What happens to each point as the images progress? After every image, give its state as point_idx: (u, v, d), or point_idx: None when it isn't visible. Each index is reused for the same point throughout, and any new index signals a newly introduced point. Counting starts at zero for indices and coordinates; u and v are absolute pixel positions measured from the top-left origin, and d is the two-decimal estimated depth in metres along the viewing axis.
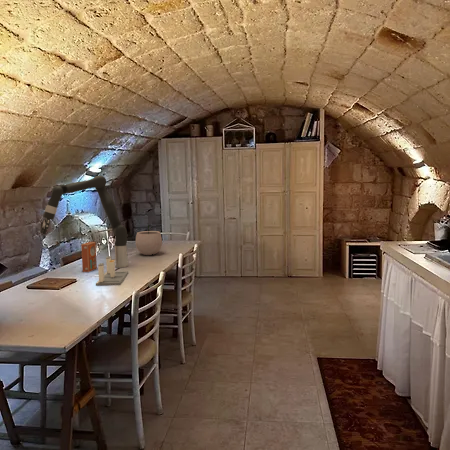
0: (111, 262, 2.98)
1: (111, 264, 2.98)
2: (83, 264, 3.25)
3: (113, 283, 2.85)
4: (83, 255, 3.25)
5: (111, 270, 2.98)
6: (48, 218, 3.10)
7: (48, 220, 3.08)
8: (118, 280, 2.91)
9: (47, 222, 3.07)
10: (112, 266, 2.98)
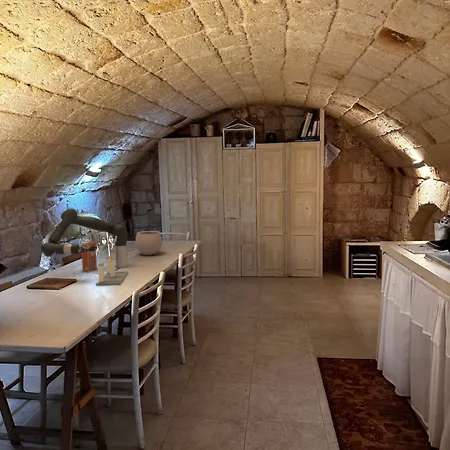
0: (111, 262, 2.98)
1: (111, 264, 2.98)
2: (83, 264, 3.25)
3: (113, 283, 2.85)
4: (83, 255, 3.25)
5: (111, 270, 2.98)
6: (76, 250, 2.94)
7: (78, 250, 2.91)
8: (118, 280, 2.91)
9: (80, 251, 2.91)
10: (112, 266, 2.98)
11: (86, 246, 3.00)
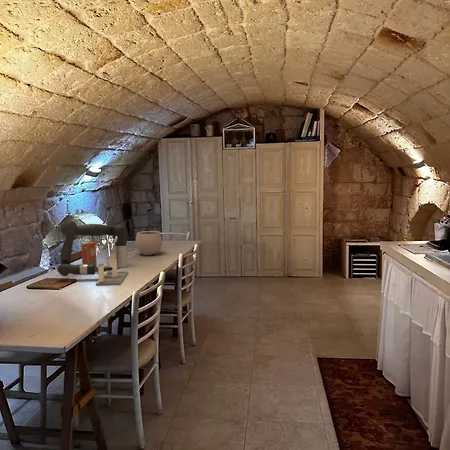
0: (113, 262, 2.98)
1: (113, 264, 2.98)
2: None
3: (113, 283, 2.85)
4: (83, 255, 3.25)
5: (113, 270, 2.99)
6: (93, 270, 2.96)
7: (97, 271, 2.94)
8: (118, 280, 2.91)
9: None
10: (114, 266, 2.98)
11: None
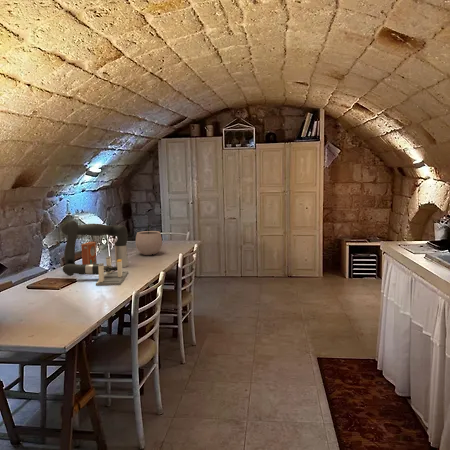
0: (118, 262, 2.98)
1: (118, 264, 2.98)
2: (83, 264, 3.25)
3: (113, 283, 2.85)
4: (83, 255, 3.25)
5: (118, 269, 2.99)
6: (98, 270, 2.97)
7: None
8: (118, 280, 2.91)
9: (105, 271, 2.95)
10: (119, 266, 2.99)
11: (107, 266, 3.01)
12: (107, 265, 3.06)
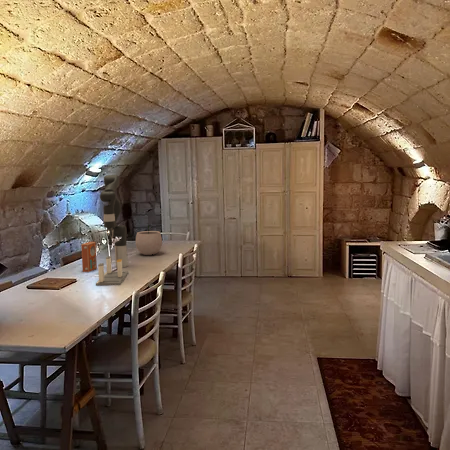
0: (118, 262, 2.98)
1: (118, 264, 2.98)
2: (83, 264, 3.25)
3: (113, 283, 2.85)
4: (83, 255, 3.25)
5: (118, 269, 2.99)
6: (108, 227, 2.94)
7: (107, 233, 2.92)
8: (118, 280, 2.91)
9: (107, 235, 2.93)
10: (119, 266, 2.99)
11: (112, 234, 2.99)
12: (113, 231, 3.04)
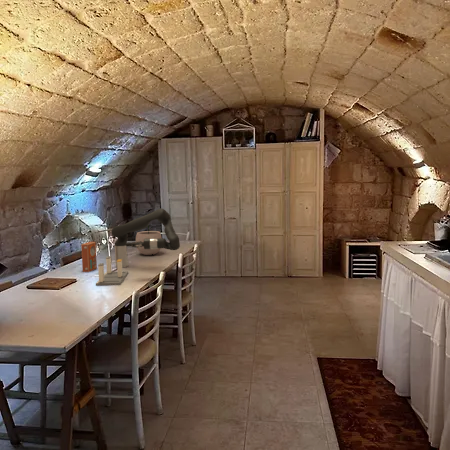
0: (118, 262, 2.98)
1: (118, 264, 2.98)
2: (83, 264, 3.25)
3: (113, 283, 2.85)
4: (83, 255, 3.25)
5: (118, 269, 2.99)
6: (143, 244, 2.96)
7: (137, 245, 2.94)
8: (118, 280, 2.91)
9: (135, 244, 2.94)
10: (119, 266, 2.99)
11: None
12: None
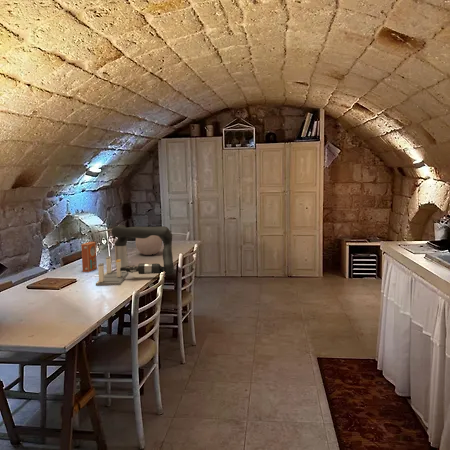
0: (118, 262, 2.98)
1: (117, 264, 2.98)
2: (83, 264, 3.25)
3: (113, 283, 2.85)
4: (83, 255, 3.25)
5: (117, 269, 2.99)
6: (138, 269, 2.98)
7: (132, 270, 2.95)
8: (118, 280, 2.91)
9: (130, 270, 2.96)
10: (118, 266, 2.99)
11: None
12: None
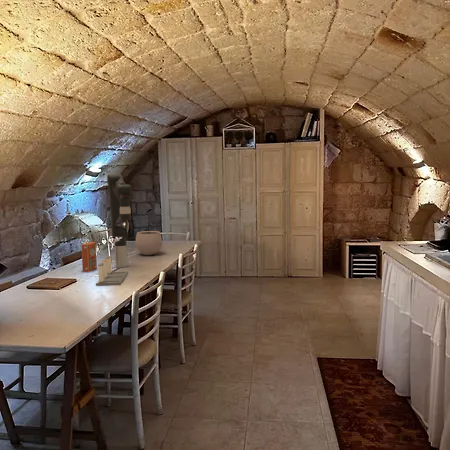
0: (104, 262, 2.98)
1: (104, 264, 2.98)
2: (83, 264, 3.25)
3: (113, 283, 2.85)
4: (83, 255, 3.25)
5: None
6: (124, 219, 2.98)
7: (124, 225, 2.96)
8: (118, 280, 2.91)
9: (123, 227, 2.97)
10: (105, 266, 2.98)
11: None
12: None
